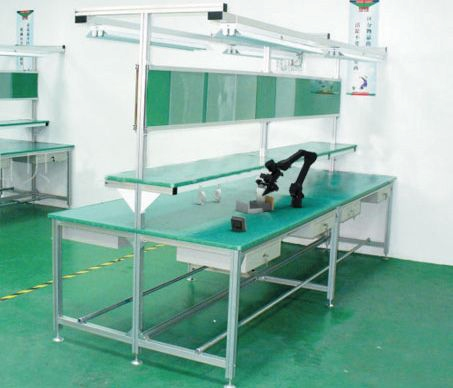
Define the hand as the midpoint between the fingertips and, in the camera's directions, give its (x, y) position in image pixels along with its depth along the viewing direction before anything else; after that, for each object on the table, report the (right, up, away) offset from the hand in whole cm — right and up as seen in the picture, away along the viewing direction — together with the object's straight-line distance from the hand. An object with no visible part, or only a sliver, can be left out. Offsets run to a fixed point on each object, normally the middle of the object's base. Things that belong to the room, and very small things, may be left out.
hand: (259, 194), depth 420 cm
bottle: (+1, -6, +2) cm, 7 cm away
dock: (-6, -10, -2) cm, 12 cm away
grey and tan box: (+1, -10, +2) cm, 10 cm away
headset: (-32, -6, +17) cm, 37 cm away
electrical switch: (-15, -20, -58) cm, 63 cm away
